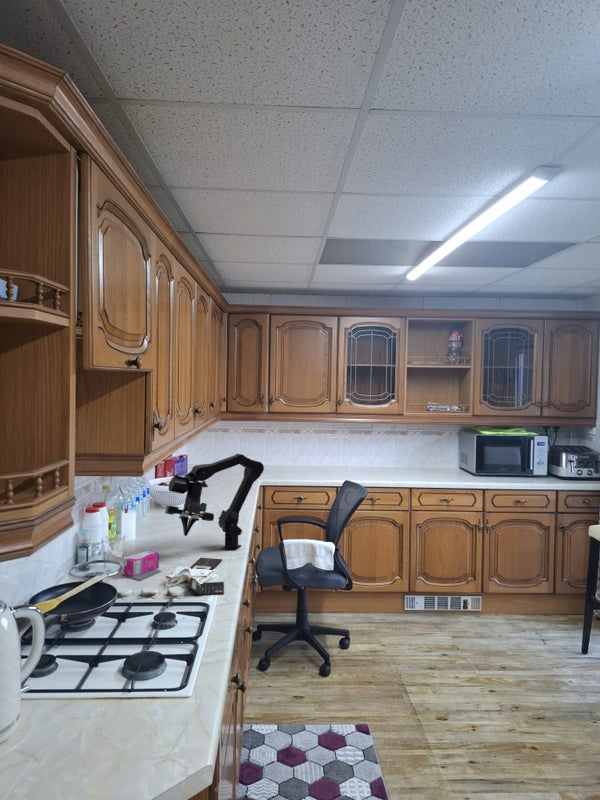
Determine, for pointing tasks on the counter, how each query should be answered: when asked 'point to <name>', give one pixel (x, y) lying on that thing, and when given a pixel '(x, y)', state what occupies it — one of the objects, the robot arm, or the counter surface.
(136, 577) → the mat
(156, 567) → the supplement box
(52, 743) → the counter surface
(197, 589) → the calculator
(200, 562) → the chocolate bar
